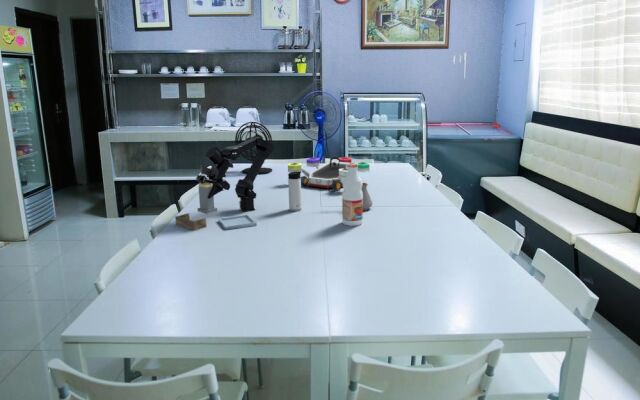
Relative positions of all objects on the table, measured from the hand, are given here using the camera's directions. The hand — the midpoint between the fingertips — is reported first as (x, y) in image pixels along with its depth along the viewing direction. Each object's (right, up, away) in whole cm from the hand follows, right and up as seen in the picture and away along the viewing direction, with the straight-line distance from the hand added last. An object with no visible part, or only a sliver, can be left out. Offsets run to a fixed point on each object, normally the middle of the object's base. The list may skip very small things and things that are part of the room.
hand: (204, 197), depth 242 cm
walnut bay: (-6, -13, -1) cm, 15 cm away
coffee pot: (+71, -6, +23) cm, 75 cm away
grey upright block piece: (+1, -7, +3) cm, 7 cm away
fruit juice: (+69, -12, -1) cm, 71 cm away
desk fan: (+10, +18, +115) cm, 117 cm away
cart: (+62, +9, +79) cm, 101 cm away
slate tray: (+15, -12, +1) cm, 20 cm away
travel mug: (+42, -7, +22) cm, 48 cm away
